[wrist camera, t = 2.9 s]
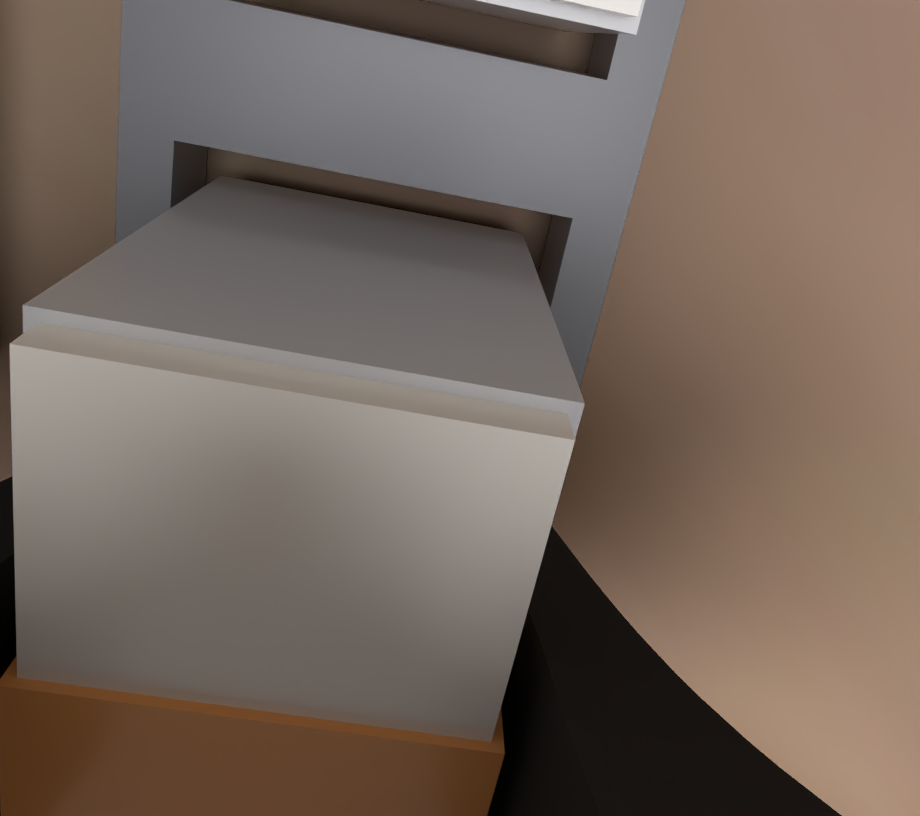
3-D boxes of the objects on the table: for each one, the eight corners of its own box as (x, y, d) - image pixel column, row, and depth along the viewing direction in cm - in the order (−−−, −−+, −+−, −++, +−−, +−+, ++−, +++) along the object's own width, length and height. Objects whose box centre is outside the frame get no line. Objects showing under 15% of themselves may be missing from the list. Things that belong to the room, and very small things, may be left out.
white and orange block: (191, 630, 13) (10, 1058, 8) (229, 170, 11) (-17, 329, 5) (422, 663, 14) (405, 1097, 8) (520, 226, 11) (596, 436, 5)
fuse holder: (118, 1005, 18) (90, 1086, 16) (226, -1237, 7) (167, -1569, 5) (386, 1033, 18) (381, 1114, 17) (915, -1001, 7) (1028, -1250, 6)
